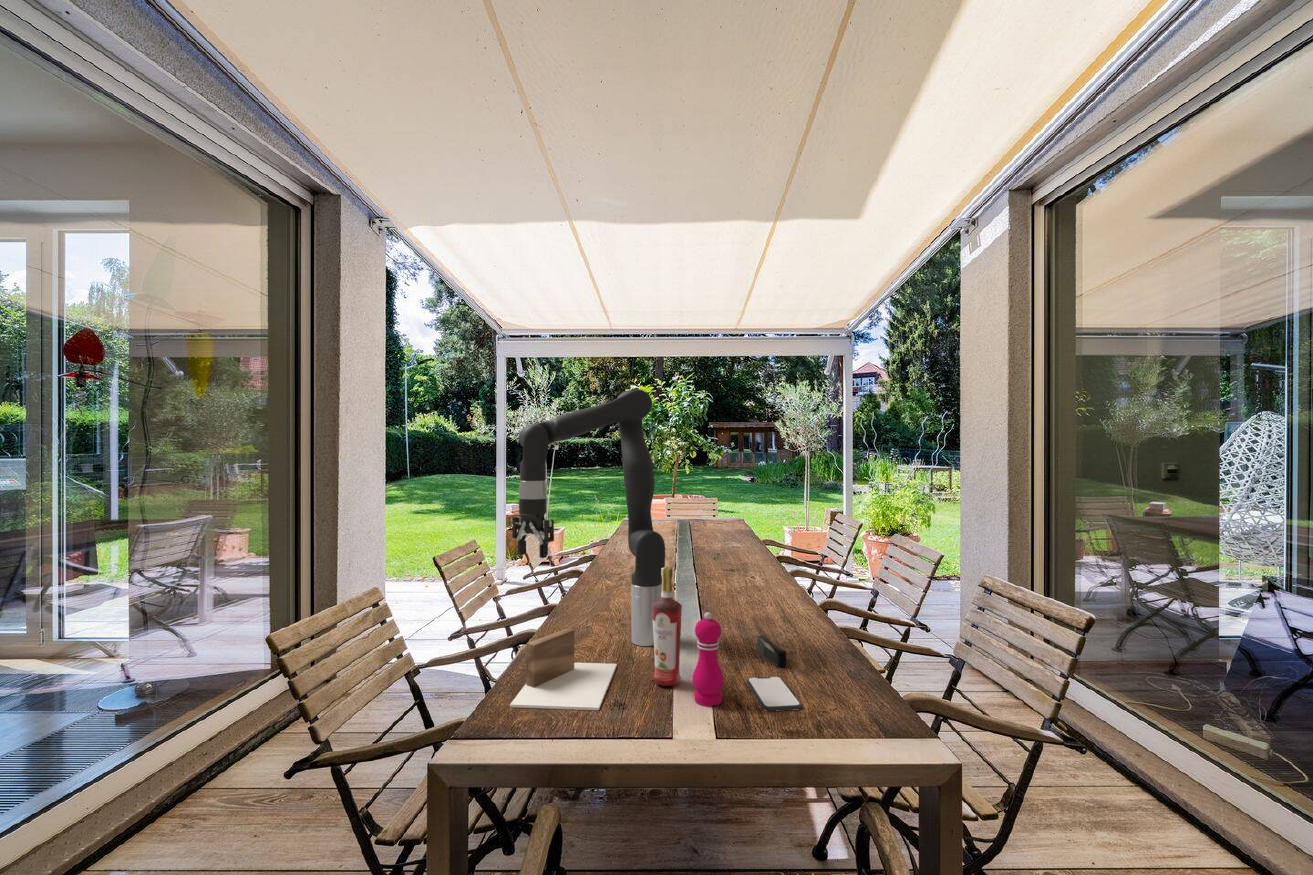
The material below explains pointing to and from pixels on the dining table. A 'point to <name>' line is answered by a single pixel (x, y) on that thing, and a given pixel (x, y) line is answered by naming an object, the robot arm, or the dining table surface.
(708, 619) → the pepper mill
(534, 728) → the dining table surface
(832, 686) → the dining table surface
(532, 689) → the mat
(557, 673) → the slab
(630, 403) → the robot arm
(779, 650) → the mobile phone
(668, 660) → the liquor
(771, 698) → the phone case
